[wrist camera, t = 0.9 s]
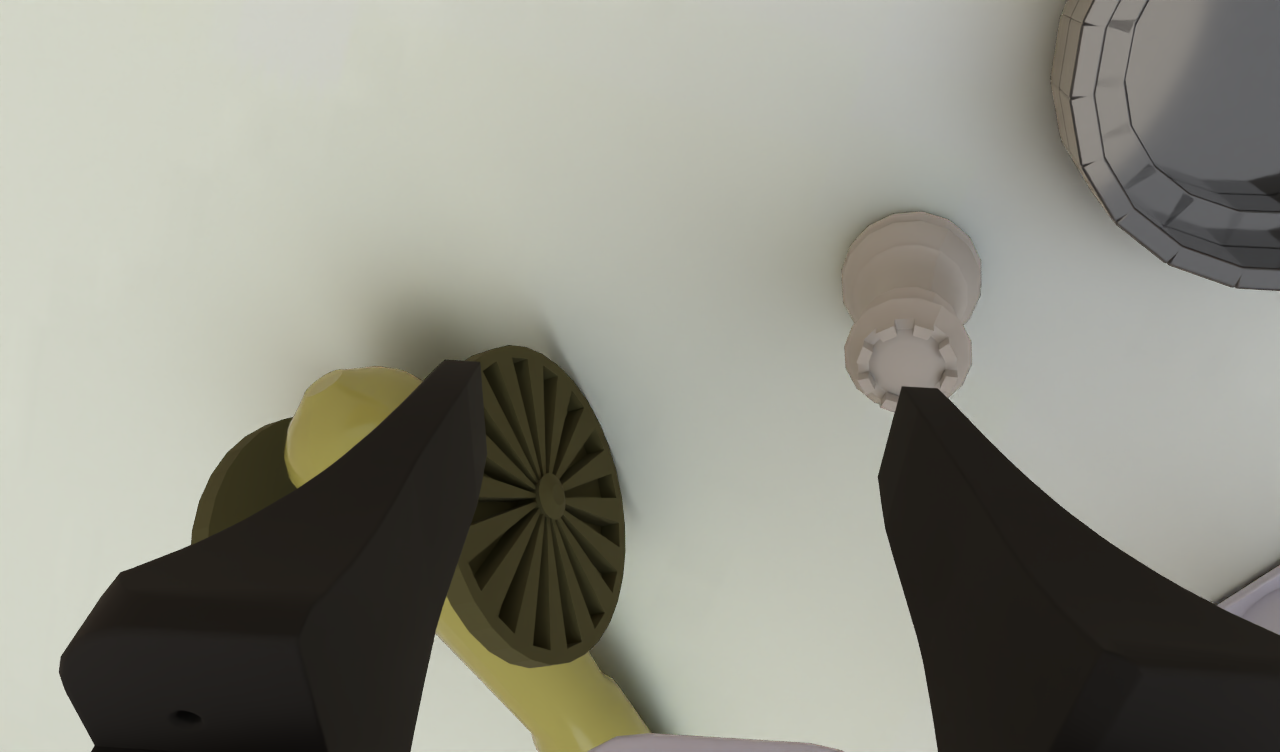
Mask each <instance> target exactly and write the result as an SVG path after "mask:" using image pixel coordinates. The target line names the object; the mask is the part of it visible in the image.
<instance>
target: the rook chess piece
mask: <svg viewBox="0 0 1280 752" xmlns="http://www.w3.org/2000/svg"><path fill="white" fill-rule="evenodd" d="M841 270H842V292H843V303H844V305H845V307H846V308H847V310H848V312H849V314H850V316H851V318H852V320H853V322H854V325H853V326H852V328H851V330H850V333H849V336H848V338H847V341H846V344H845V346H844V350H845V364H846V370H847V372H848V373H849V375H850V377H851V379H852V381H853V383H854V384H855V386H856V388H857V389H858V390H860V391H861V392H862V393H863V394H865V395H866V396H867V397H868V398H869V399H871V400H872V401H873V402H875V403H878V404H880V408H883V409H886V410H889V411H892V412H895V410H896V406H897V402H898V398H899V395H900V391H901V387H902V386H907V387H924V388H938V389H939V390H940V391H941V392H942V393H943V394H944V395H945V396H946V397H947V398H948V397H950V396H951V395H952V394H953V393H954V392H955V391H956V390H957V389H959V388H960V387H961V386H962V384H963V382H964V380H965V378H966V376H967V374H968V371H969V369H970V367H971V365H972V352H971V340H970V338H969V336H968V334H967V332H966V330H965V328H964V326H963V325H964V324H965V323H966V322H967V321H968V320H969V319H970V317H971V315H972V313H973V311H974V308H975V306H976V304H977V302H978V300H979V297H980V295H981V294H980V288H981V259H980V257H979V255H978V253H977V251H976V249H975V247H974V245H973V243H972V241H971V239H970V237H969V236H968V235H967V234H966V233H964V232H963V231H962V230H961V229H960V228H958V227H957V226H956V225H955V224H954V223H952V222H951V221H950V220H949V219H945V218H942V217H939V216H935V215H932V214H929V213H925V212H922V211H921V212H909V213H897V214H892V215H890V216H888V217H886V218H884V219H882V220H879V221H877V222H875V223H873V224H871V225H869V226H868V227H867V228H866V229H865V230H864V231H863V232H862V233H861V234H860V235H859V236H858V238H857V239H856V240H855V241H854V242H853V243H852V244H851V245H850V247H849V250H848V253H847V256H846V258H845V261H844V264H843V267H842V269H841Z"/></svg>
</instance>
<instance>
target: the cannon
mask: <svg viewBox="0 0 1280 752" xmlns="http://www.w3.org/2000/svg"><path fill="white" fill-rule="evenodd" d="M465 361H477V362H480V364H481V377H482V391H483V404H484V417H485V431H486V444H487V458H486V463H485V468H484V474H483V479H482V484H481V489H480V494H479V499H478V504H477V507H476V510H475V513H474V516H473V519H472V522H471V525H470V528H469V531H468V534H467V537H466V540H465V543H464V546H463V549H462V552H461V555H460V558H459V561H458V564H457V566H456V569H455V572H454V575H453V578H452V581H451V584H450V587H449V590H448V593H447V596H446V599H445V602H444V605H443V608H442V611H441V614H440V618H439V621H438V625H437V628H436V632H435V634H436V635H437V636H438V637H439V638H440V639H441V640H442V641H443V642H444V643H445V644H446V645H447V646H448V647H449V648H450V649H451V650H452V651H453V652H454V653H455V654H456V655H457V656H458V658H459V659H460V660H461V661H462V662H463V663H464V664H465V665H466V666H467V667H468V668H469V669H470V670H471V671H472V672H473V673H474V674H475V675H476V676H477V677H478V678H479V679H480V680H481V681H482V682H483V683H484V684H485V685H486V686H487V687H488V688H489V689H490V691H491V692H492V693H493V694H494V695H495V696H496V697H497V698H498V699H499V700H500V701H501V702H502V703H503V704H504V705H505V706H506V707H507V708H508V709H509V710H510V711H511V712H512V713H513V714H514V715H515V716H516V717H517V718H518V719H519V720H520V721H521V722H522V724H523V725H524V726H525V727H526V728H527V729H528V730H529V731H530V732H531V735H532V739H533V742H534V745H535V747H536V749H537V751H538V752H588V751H589V750H591V749H593V748H595V747H597V746H599V745H600V744H602V743H604V742H606V741H608V740H610V739H612V738H614V737H616V736H625V735H636V734H646V733H652V732H651V731H650V730H649V728H648V727H647V725H646V724H645V722H644V721H643V720H642V718H641V717H640V715H639V714H638V713H637V711H636V710H635V708H634V707H633V706H632V704H631V703H630V701H629V700H628V699H627V697H626V696H625V694H624V693H623V692H622V690H621V689H620V687H619V686H618V685H617V683H616V682H615V680H613V679H612V678H611V677H610V676H608V675H606V674H605V673H603V672H601V671H600V669H599V668H598V666H597V664H596V663H595V661H594V659H593V658H592V656H591V654H590V653H589V650H590V649H591V648H592V647H593V646H594V645H595V644H596V643H597V642H598V641H599V640H600V638H601V636H602V635H603V633H604V631H605V630H606V628H607V626H608V625H609V623H610V621H611V618H612V615H613V613H614V610H615V607H616V605H617V602H618V598H619V593H620V589H621V584H622V579H623V571H624V560H625V522H624V513H623V504H622V496H621V492H620V487H619V482H618V477H617V472H616V469H615V465H614V462H613V459H612V456H611V452H610V449H609V446H608V443H607V441H606V439H605V436H604V434H603V431H602V429H601V426H600V424H599V422H598V420H597V418H596V416H595V414H594V413H593V411H592V409H591V407H590V405H589V403H588V401H587V400H586V398H585V397H584V396H583V394H582V393H581V391H580V390H579V389H578V387H577V386H576V384H575V383H574V382H573V380H572V379H571V378H570V377H569V376H568V375H567V374H566V373H565V372H564V371H563V370H562V369H561V368H560V367H559V366H558V365H557V364H555V363H554V362H553V361H551V360H550V359H549V358H547V357H546V356H544V355H543V354H541V353H539V352H536V351H534V350H532V349H529V348H527V347H521V346H512V345H508V346H503V347H499V348H495V349H491V350H488V351H485V352H482V353H479V354H476V355H473V356H471V357H470V358H468V359H466V360H465ZM422 382H423V380H421V379H419V378H417V377H416V376H414V375H412V374H410V373H409V372H407V371H404V370H401V369H394V368H388V367H381V366H371V367H362V368H353V369H339V370H335V371H332V372H330V373H328V374H326V375H324V376H322V377H321V378H319V379H318V380H317V381H315V382H314V383H313V384H312V385H311V386H310V387H309V388H308V389H307V390H306V392H305V393H304V396H303V398H302V400H301V402H300V405H299V407H298V409H297V411H296V412H295V414H294V416H293V417H291V418H287V419H283V420H280V421H277V422H274V423H271V424H268V425H265V426H264V427H262V428H260V429H258V430H256V431H254V432H253V433H251V434H249V435H247V436H245V437H244V438H243V439H242V440H241V441H240V442H239V443H238V444H236V445H235V446H234V447H233V448H232V449H231V450H230V451H229V452H228V453H227V454H226V455H225V456H224V458H223V459H222V461H221V462H220V463H219V465H218V466H217V467H216V469H215V470H214V472H213V473H212V474H211V476H210V479H209V481H208V483H207V485H206V487H205V490H204V492H203V494H202V496H201V498H200V501H199V504H198V508H197V512H196V517H195V521H194V525H193V529H192V540H191V545H192V544H194V543H197V542H199V541H201V540H203V539H205V538H208V537H210V536H212V535H214V534H216V533H218V532H220V531H222V530H224V529H226V528H228V527H230V526H232V525H234V524H236V523H238V522H240V521H242V520H244V519H246V518H248V517H250V516H252V515H253V514H255V513H257V512H258V511H260V510H262V509H264V508H265V507H267V506H269V505H270V504H272V503H274V502H276V501H277V500H279V499H281V498H282V497H284V496H286V495H288V494H289V493H291V492H293V491H294V490H296V489H297V488H299V487H300V486H302V485H303V484H305V483H306V482H308V481H309V480H311V479H312V478H313V477H315V476H316V475H318V474H319V473H321V472H322V471H324V470H325V469H326V468H328V467H329V466H330V465H332V464H333V463H334V462H336V461H337V460H338V459H339V458H341V457H342V456H343V455H344V454H345V453H347V452H348V451H349V450H350V449H351V448H353V447H354V446H355V445H356V444H357V443H358V442H360V441H361V440H362V439H363V438H364V437H365V436H367V435H368V434H369V433H370V432H371V431H372V430H374V429H375V428H376V427H377V426H378V425H379V424H380V423H381V422H382V421H383V420H384V419H385V418H386V417H387V416H388V415H389V414H391V413H392V412H393V411H394V410H395V409H396V408H397V407H398V406H399V405H400V404H401V403H402V402H403V401H404V400H405V399H406V398H407V397H408V396H409V395H410V394H411V393H412V392H413V391H414V390H415V389H416V388H417V387H418V386H419V385H420V384H421V383H422Z"/></svg>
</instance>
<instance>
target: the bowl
mask: <svg viewBox="0 0 1280 752" xmlns="http://www.w3.org/2000/svg"><path fill="white" fill-rule="evenodd" d="M1050 79H1051V88H1052V94H1053V100H1054V105H1055V111H1056V117H1057V122H1058V128H1059V133H1060V138H1061V141H1062V143H1063V145H1064V147H1065V148H1066V150H1067V152H1068V153H1069V155H1070V157H1071V158H1072V160H1073V162H1074V164H1075V165H1076V167H1077V169H1078V170H1079V172H1080V174H1081V175H1082V177H1083V179H1084V180H1085V182H1086V184H1087V185H1088V187H1089V189H1090V190H1091V191H1092V193H1093V194H1094V196H1095V197H1096V198H1097V200H1098V201H1099V203H1100V204H1101V205H1102V207H1103V208H1104V210H1105V211H1106V212H1107V214H1108V215H1109V217H1110V218H1111V220H1112V221H1114V223H1115V224H1116V225H1117V226H1118V227H1119V228H1121V229H1122V230H1123V231H1125V232H1126V233H1127V234H1128V235H1130V236H1131V237H1132V238H1133V239H1135V240H1136V241H1137V242H1138V243H1140V244H1141V245H1142V246H1144V247H1145V248H1146V249H1147V250H1149V251H1150V252H1151V253H1152V254H1154V255H1155V256H1156V257H1157V258H1159V259H1160V260H1161V261H1162V262H1164V263H1167V264H1168V265H1169V266H1172V267H1175V268H1178V269H1181V270H1183V271H1186V272H1189V273H1192V274H1195V275H1198V276H1200V277H1203V278H1206V279H1209V280H1212V281H1215V282H1217V283H1220V284H1223V285H1226V286H1229V287H1235V288H1237V289H1255V290H1272V291H1280V0H1067V2H1066V4H1065V6H1064V8H1063V10H1062V15H1061V16H1060V20H1059V26H1058V33H1057V39H1056V45H1055V52H1054V58H1053V64H1052V71H1051V77H1050Z"/></svg>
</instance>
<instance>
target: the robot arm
mask: <svg viewBox="0 0 1280 752" xmlns="http://www.w3.org/2000/svg"><path fill="white" fill-rule="evenodd" d="M486 458H487V444H486V431H485V417H484V404H483V391H482V377H481V364H480V362H477V361H460V360H444V361H443V362H442V363H441V364H439V365H438V366H437V367H436V368H435V369H434V370H433V371H432V372H431V373H430V374H429V376H428V377H427V378H426V379H425V380H424V381H423V382H422V383H421V384H420V385H419V386H418V387H417V388H416V389H415V390H414V391H413V392H412V393H411V394H410V395H409V396H408V397H407V398H406V399H405V400H404V401H403V402H402V403H401V404H400V405H399V406H398V407H397V408H396V409H395V410H394V411H393V412H392V413H391V414H389V415H388V416H387V417H386V418H385V419H384V420H383V421H382V422H381V423H380V424H379V425H378V426H377V427H376V428H375V429H374V430H372V431H371V432H370V433H369V434H368V435H367V436H365V437H364V438H363V439H362V440H361V441H360V442H358V443H357V444H356V445H355V446H354V447H353V448H351V449H350V450H349V451H348V452H347V453H345V454H344V455H343V456H342V457H341V458H339V459H338V460H337V461H336V462H334V463H333V464H332V465H330V466H329V467H328V468H326V469H325V470H324V471H322V472H321V473H319V474H318V475H316V476H315V477H313V478H312V479H311V480H309V481H308V482H306V483H305V484H303V485H302V486H300V487H299V488H297V489H296V490H294V491H293V492H291V493H289V494H288V495H286V496H284V497H282V498H281V499H279V500H277V501H276V502H274V503H272V504H270V505H269V506H267V507H265V508H264V509H262V510H260V511H258V512H257V513H255V514H253V515H252V516H250V517H248V518H246V519H244V520H242V521H240V522H238V523H236V524H234V525H232V526H230V527H228V528H226V529H224V530H222V531H220V532H218V533H216V534H214V535H212V536H210V537H208V538H205V539H203V540H201V541H199V542H197V543H194V544H192V545H190V546H188V547H185V548H183V549H181V550H178V551H175V552H173V553H170V554H168V555H165V556H163V557H160V558H158V559H155V560H152V561H150V562H147V563H145V564H142V565H140V566H137V567H134V568H132V569H129V570H126V571H123V572H120V574H119V575H118V576H117V577H116V579H115V580H114V581H113V582H112V584H111V585H110V586H109V587H108V589H107V590H106V591H105V593H104V594H103V595H102V596H101V598H100V599H99V601H98V602H97V604H96V605H95V607H94V608H93V610H92V611H91V613H90V614H89V616H88V617H87V619H86V620H85V622H84V623H83V625H82V626H81V627H80V629H79V630H78V632H77V633H76V635H75V636H74V638H73V639H72V641H71V642H70V644H69V645H68V647H67V648H66V650H65V651H64V653H63V654H62V656H61V659H60V667H59V674H60V677H61V680H62V683H63V686H64V689H65V691H66V693H67V695H68V697H69V699H70V701H71V702H72V704H73V706H74V708H75V710H76V712H77V713H78V715H79V717H80V719H81V721H82V723H83V725H84V726H85V728H86V730H87V732H88V734H89V736H90V737H91V739H92V741H93V743H94V745H95V746H94V748H93V750H92V751H91V752H410V751H411V746H412V741H413V735H414V730H415V725H416V721H417V716H418V711H419V706H420V701H421V696H422V691H423V687H424V682H425V677H426V673H427V668H428V664H429V659H430V654H431V650H432V645H433V641H434V636H435V632H436V628H437V625H438V621H439V618H440V614H441V611H442V608H443V605H444V602H445V599H446V596H447V593H448V590H449V587H450V584H451V581H452V578H453V575H454V572H455V569H456V566H457V564H458V561H459V558H460V555H461V552H462V549H463V546H464V543H465V540H466V537H467V534H468V531H469V528H470V525H471V522H472V519H473V516H474V513H475V510H476V507H477V504H478V499H479V494H480V489H481V484H482V479H483V474H484V468H485V463H486ZM878 481H879V489H880V496H881V504H882V511H883V517H884V523H885V529H886V533H887V536H888V540H889V543H890V547H891V550H892V554H893V557H894V561H895V564H896V568H897V571H898V574H899V578H900V581H901V584H902V588H903V591H904V595H905V598H906V601H907V605H908V608H909V611H910V615H911V618H912V622H913V625H914V628H915V632H916V635H917V639H918V643H919V647H920V651H921V655H922V659H923V664H924V669H925V675H926V681H927V686H928V692H929V698H930V703H931V709H932V715H933V722H934V728H935V735H936V741H937V748H938V752H1280V565H1279V566H1277V567H1276V568H1274V569H1273V570H1271V571H1269V572H1268V573H1266V574H1265V575H1263V576H1262V577H1260V578H1259V579H1257V580H1255V581H1254V582H1252V583H1251V584H1249V585H1248V586H1246V587H1244V588H1243V589H1241V590H1240V591H1238V592H1237V593H1235V594H1234V595H1232V596H1230V597H1229V598H1227V599H1226V600H1224V601H1223V602H1221V603H1219V604H1218V605H1214V604H1213V603H1211V602H1209V601H1207V600H1205V599H1203V598H1201V597H1199V596H1197V595H1196V594H1194V593H1192V592H1190V591H1188V590H1186V589H1184V588H1182V587H1181V586H1179V585H1177V584H1175V583H1174V582H1172V581H1170V580H1169V579H1167V578H1165V577H1163V576H1162V575H1160V574H1158V573H1156V572H1155V571H1153V570H1152V569H1150V568H1148V567H1147V566H1145V565H1144V564H1142V563H1141V562H1139V561H1137V560H1136V559H1134V558H1133V557H1131V556H1129V555H1128V554H1126V553H1125V552H1123V551H1122V550H1120V549H1119V548H1117V547H1116V546H1114V545H1113V544H1111V543H1110V542H1108V541H1107V540H1105V539H1104V538H1102V537H1101V536H1100V535H1098V534H1097V533H1096V532H1094V531H1093V530H1092V529H1090V528H1089V527H1088V526H1086V525H1085V524H1084V523H1082V522H1081V521H1079V520H1078V519H1077V518H1075V517H1074V516H1073V515H1071V514H1070V513H1069V512H1068V511H1066V510H1065V509H1064V508H1063V507H1061V506H1060V505H1059V504H1058V503H1056V502H1055V501H1054V500H1053V499H1052V498H1051V497H1049V496H1048V495H1047V494H1046V493H1045V492H1044V491H1043V490H1041V489H1040V488H1039V487H1038V486H1037V485H1036V484H1034V483H1033V482H1032V481H1031V480H1030V479H1029V478H1028V477H1027V476H1025V475H1024V474H1023V473H1022V472H1021V471H1020V470H1019V469H1018V468H1017V467H1016V466H1015V465H1014V464H1013V463H1012V462H1010V461H1009V460H1008V459H1007V458H1006V457H1005V456H1004V455H1003V454H1002V453H1001V452H1000V451H999V450H998V449H997V448H996V447H995V446H994V445H993V444H992V443H991V442H990V441H989V440H988V439H987V438H986V437H985V436H984V435H983V434H982V433H981V432H980V431H979V430H978V429H977V428H976V427H975V426H974V425H973V424H972V423H971V422H970V420H969V419H968V418H967V417H966V416H965V415H964V414H963V413H962V412H961V411H960V410H959V409H958V408H957V407H956V406H955V405H954V404H953V403H952V402H951V401H950V400H949V399H948V398H947V397H946V396H945V395H944V394H943V393H942V392H941V391H940V390H939V389H938V388H924V387H907V386H902V387H901V391H900V395H899V398H898V402H897V406H896V410H895V414H894V417H893V421H892V425H891V429H890V433H889V437H888V440H887V444H886V448H885V452H884V456H883V459H882V463H881V467H880V471H879V475H878ZM588 752H844V751H842V750H838V749H834V748H829V747H825V746H821V745H816V744H812V743H800V742H784V741H768V740H752V739H736V738H720V737H703V736H687V735H671V734H655V733H646V734H636V735H625V736H616V737H614V738H612V739H610V740H608V741H606V742H604V743H602V744H600V745H599V746H597V747H595V748H593V749H591V750H589V751H588Z"/></svg>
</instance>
